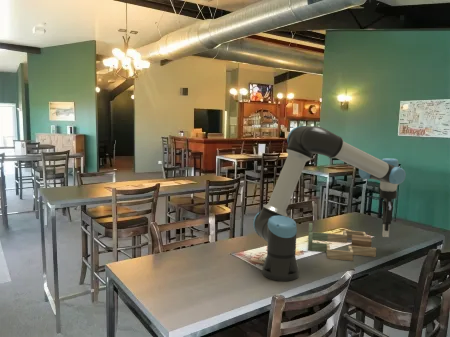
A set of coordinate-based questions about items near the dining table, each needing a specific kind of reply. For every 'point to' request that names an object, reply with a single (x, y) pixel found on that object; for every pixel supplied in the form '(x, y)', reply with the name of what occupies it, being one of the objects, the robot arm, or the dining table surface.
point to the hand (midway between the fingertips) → (385, 236)
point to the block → (361, 241)
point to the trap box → (338, 238)
